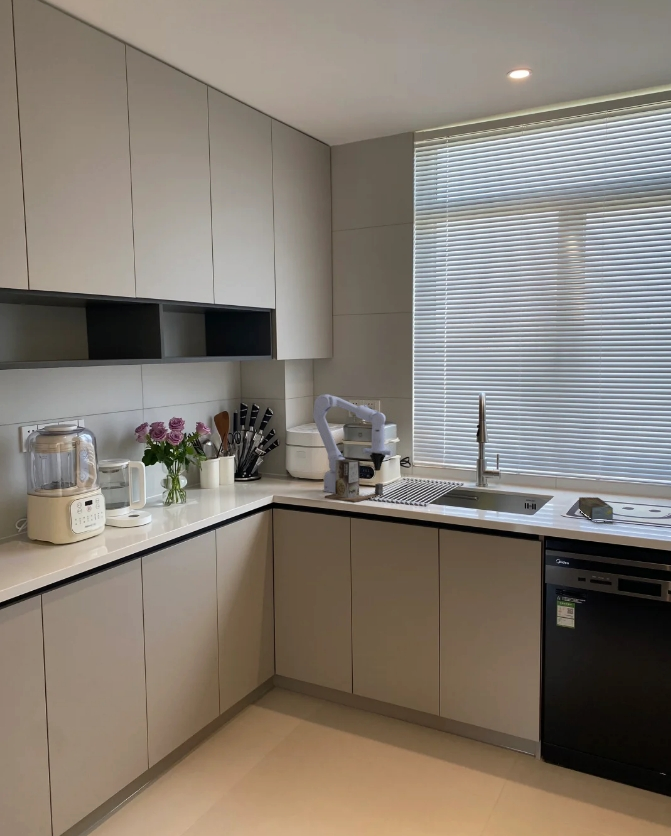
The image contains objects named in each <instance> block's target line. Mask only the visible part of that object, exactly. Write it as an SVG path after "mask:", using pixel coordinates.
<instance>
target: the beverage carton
mask: <svg viewBox="0 0 671 836" xmlns="http://www.w3.org/2000/svg"><path fill="white" fill-rule="evenodd" d="M579 509H580V510H581V511H582V512H583V513H584V514H586V515H587V516H589V517H590V518H591V519H607V520H614V517H613V516H614V508H613V507H612V506H611V505H609V504H608V503H607V502H606V501H604V500H603V499H601V498H600V497H597V496H595V497H593V496H592V497H591V496H589V497H587V496H585V497H581V496H580V497H578V510H579Z"/></svg>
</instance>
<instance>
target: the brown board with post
mask: <svg viewBox="0 0 671 836" xmlns="http://www.w3.org/2000/svg"><path fill="white" fill-rule="evenodd" d="M383 491H384V484H383V483H382V482H381V483H379V482H377V483H374V493H371V494H367V495H360V494H359V497H354V498H345V497H341V496H337V495H335V493H331V494H327V495H324V498H327V499H331V500H337V501H338V500H339V501H344V502H351V503H357V502H361V501H362V502H363V501H366V500H369V499H368V498H371V497H375V496H378V495H383V496H384V493H383ZM375 498H376V497H375ZM371 499H372V498H371Z"/></svg>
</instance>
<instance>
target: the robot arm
mask: <svg viewBox="0 0 671 836" xmlns="http://www.w3.org/2000/svg"><path fill="white" fill-rule="evenodd" d="M313 404H314V407H313V414H312V419H313V420H314V423H315V426H316V428H317V431H318V433H319V435H320V436H319V437H320V438H321V441H322V443H323V445H324V448H325V451H326V453H327V459H328V468H329V469H330V470H329V471H325V473H324V476H323V489H322V491H323V492H327V493H328V492H329V493H331V494H335V479H336V460H342V459H346V458H345V457H344V456H343V454H342V453H341V450H340V449H339V448H338V446H337V443H336V441H335V439H334V436H333V433H332V431H331V428H330V426H329V423H328V420H327V418H326V416H327V413H328V411H329V410H330V409H331V408H336V407H339V408H341V409H344V410H347V411H349V412H352V413H354V414H355V417H357V418H358V419H361V420H363V421H365V422H366V423H367V422H368V423H371V426H372V427H371V448H369V447H367V448H366V447H365V448H363V450H362V452H363V454H370V455H369V458H370V459H371V461H372V463H373V467H374V471H376V472H377V471H381V467H382V464H383V461H384V459H385V458H386V456H393V454H394V451H393V450H390V449H389V450H388V449H385V443H386V442H385V441H386V440H385V438H386V437H385V436H386V434H385V433H386V432H385V431H386V430H385V426H386V425H385V422H386V421H387V420H386V419H387V418H386V415H385V414H384V413H382V412H381V411H378V410H377V409H372V408H370V407H369V406H368V405H367V404H364V405H362V404H360V405H356V404H355V403H354V404H353V403H352V402H349V401H347V400H345V399H343V398H341V397H339V396H336V395H331V394H329V393H325V394H320V395H318V397H317V398H316V399H315V400H314V403H313Z"/></svg>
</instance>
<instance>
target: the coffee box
mask: <svg viewBox="0 0 671 836" xmlns="http://www.w3.org/2000/svg"><path fill="white" fill-rule="evenodd" d="M360 464H361V461H360V460H354V459H347V458H345V459H342V460H336V479H335V493H334V494H335V495H337V496H341V497H345V498H354V497H359V495H360V471H361V470H360V469H361V467H360V466H361V465H360Z"/></svg>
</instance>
